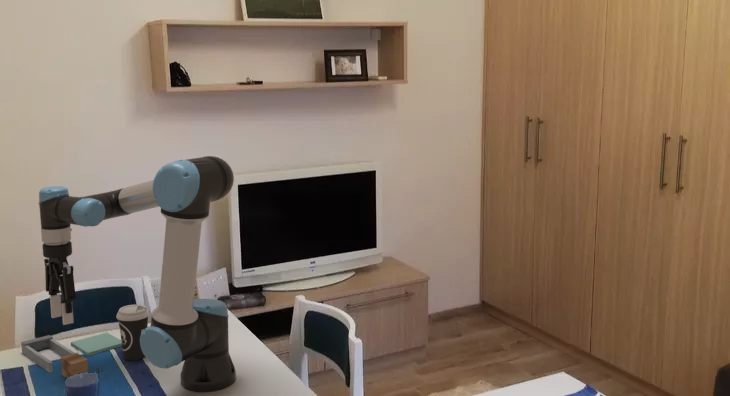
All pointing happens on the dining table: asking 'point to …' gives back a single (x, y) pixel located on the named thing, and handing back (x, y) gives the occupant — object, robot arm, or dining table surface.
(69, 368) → the walnut block
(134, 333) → the coffee cup
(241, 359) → the dining table surface
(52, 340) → the grey channel
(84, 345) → the teal coaster
